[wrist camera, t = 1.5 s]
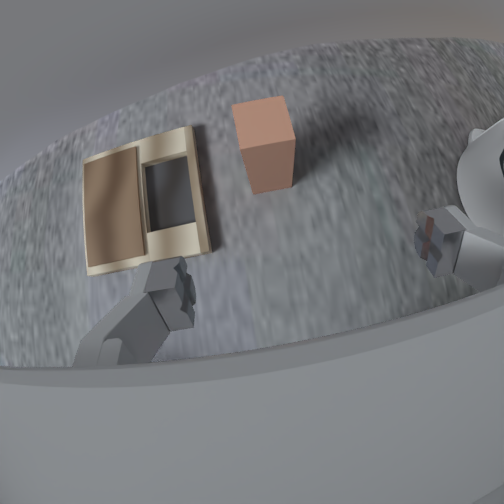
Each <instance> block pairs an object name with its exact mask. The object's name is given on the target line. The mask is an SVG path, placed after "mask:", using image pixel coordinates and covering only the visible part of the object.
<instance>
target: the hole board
mask: <svg viewBox="0 0 504 504" xmlns="http://www.w3.org/2000/svg"><path fill="white" fill-rule="evenodd" d="M83 224H84V241H85V255H86V266H87V276H92V277H95V276H100V275H105V274H110V273H114V272H119V271H124V270H129V269H134V268H138V266H139V264H141V263H144V262H149V261H155V260H160V259H166V258H172V257H177V256H182V257H184V258H189V257H194V256H199V255H204V254H209V253H212V248H211V242H210V235H209V229H208V223H207V216H206V210H205V203H204V196H203V189H202V182H201V175H200V168H199V161H198V154H197V146H196V138H195V131H194V129H193V127H192V125H190V126H186V127H182V128H178V129H175V130H171V131H167V132H164V133H161V134H157V135H154V136H150V137H147V138H144V139H141V140H138V141H135V142H131V143H128V144H125V145H122V146H119V147H117V148H114V149H111V150H108V151H105V152H102V153H100V154H97V155H94V156H92V157H89V158H86V159H84V160H83Z"/></svg>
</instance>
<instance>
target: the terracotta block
mask: <svg viewBox="0 0 504 504" xmlns="http://www.w3.org/2000/svg"><path fill="white" fill-rule="evenodd" d="M232 110H233V115H234V121H235V126H236V131H237V136H238V141H239V146H240V151H241V154H242V157H243V161H244V164H245V168H246V171H247V175H248V178H249V181H250V185H251V188H252V192H253V194H258V193H263V192H269V191H274V190H279V189H284V188H290V187H292V178H293V166H294V154H295V141H296V138H295V135H294V131H293V128H292V124H291V121H290V117H289V114H288V110H287V107H286V103H285V100H284V97H283V96H277V97H271V98H265V99H260V100H254V101H249V102H244V103H239V104H234V105H232Z"/></svg>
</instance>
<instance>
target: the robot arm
mask: <svg viewBox="0 0 504 504" xmlns="http://www.w3.org/2000/svg"><path fill="white" fill-rule="evenodd" d="M457 185H458V191H459V195H460V199H461V202H462V204H463V207H464V209H465V211H466V213H467V215H468V217H469V218H468V217H467V216H466V215H465V214H464V213H463V212H462V211H461V210H459V209H458V208H457V207H456V206H455V205H448V206H444V207H440V208H435V209H430V210H425V211H420V212H418V215H417V219H416V223H417V224H418V226H419V227H418V229H417V230H416V232H415V235H414V244H415V249H416V251H417V254H418V255H419V257H420V258H422V259H424V260H426V261H427V263H426V266H427V268H428V269H429V271H430V272H431V273H432V275H433V276H434V278H436V277H440V276H444V275H448V274H452V273H454V275H455V276H457V277H458V278H460V279H461V280H463V281H464V282H466V283H467V284H469V285H470V286H472V287H473V288H475V289H476V290H478V291H479V292H480V293H477V294H474V295H471V296H468V297H465V298H462V299H459V300H456V301H453V302H450V303H447V304H444V305H441V306H437V307H434V308H431V309H428V310H424V311H421V312H417V313H414V314H410V315H407V316H403V317H400V318H396V319H392V320H389V321H385V322H381V323H377V324H373V325H370V326H366V327H361V328H357V329H353V330H349V331H345V332H340V333H336V334H332V335H327V336H322V337H318V338H313V339H308V340H303V341H298V342H293V343H288V344H283V345H277V346H272V347H266V348H260V349H254V350H248V351H241V352H235V353H228V354H221V355H214V356H206V357H198V358H190V359H181V360H172V361H162V362H151V360H152V359H153V357H154V356H155V354H156V353H157V351H158V350H159V348H160V347H161V345H162V344H163V342H164V341H165V340H166V338H167V337H168V335H169V334H170V331H176V330H182V329H188V328H194V318H195V312H194V309H193V307H192V306H193V305H194V304H195V303H196V292H195V286H194V282H193V279H192V276H191V275H189V274H188V273H186V271H187V264H186V262H185V259H184V257H182V256H177V257H172V258H166V259H160V260H155V261H149V262H144V263H141V264H139V266H138V268H137V271H136V275H135V278H134V281H133V284H132V288H131V291H130V294H129V296H125V297H124V298H123V299H122V300H121V301H120V302H119V303H118V304H117V305H116V306H115V307H114V308H113V309H112V310H111V311H110V312H109V313H108V314H107V315H106V316H105V317H104V318H103V319H102V320H101V321H100V322H99V323H98V324H97V325H96V326H95V327H94V328H93V329H92V330H91V331H90V332H89V333H88V334H87V335H86V336H85V337H84V338H83V339H82V340H81V341H80V344H79V347H78V350H77V353H76V356H75V359H74V363H73V366H72V367H10V366H0V504H504V118H503V119H501V120H500V121H498V122H497V123H495V124H494V125H493V126H491V127H490V128H488V129H487V130H482V129H477V128H475V129H473V130H472V131H471V132H470V134H469V139H468V146H467V148H466V150H465V151H464V152H463V154H462V155H461V157H460V160H459V163H458V167H457ZM150 362H151V363H150Z"/></svg>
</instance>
